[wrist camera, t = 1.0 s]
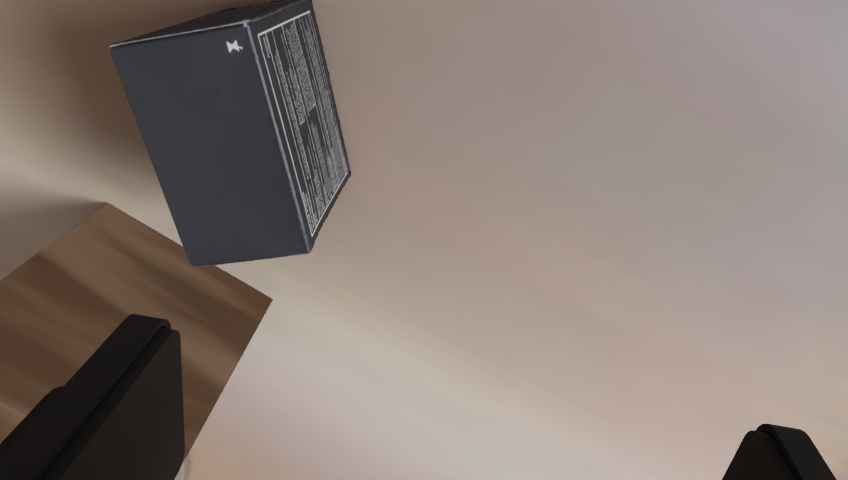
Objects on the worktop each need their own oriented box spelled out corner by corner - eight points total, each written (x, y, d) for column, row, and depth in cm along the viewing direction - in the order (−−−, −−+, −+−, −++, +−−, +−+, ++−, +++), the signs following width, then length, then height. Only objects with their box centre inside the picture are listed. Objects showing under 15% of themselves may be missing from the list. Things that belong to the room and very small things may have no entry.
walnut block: (252, 329, 43) (143, 524, 29) (91, 237, 41) (-116, 399, 26) (272, 299, 42) (169, 487, 28) (107, 202, 40) (-99, 352, 25)
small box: (198, 13, 34) (95, 40, 25) (312, -8, 33) (250, 13, 24) (252, 191, 39) (183, 272, 29) (354, 177, 38) (316, 255, 28)
